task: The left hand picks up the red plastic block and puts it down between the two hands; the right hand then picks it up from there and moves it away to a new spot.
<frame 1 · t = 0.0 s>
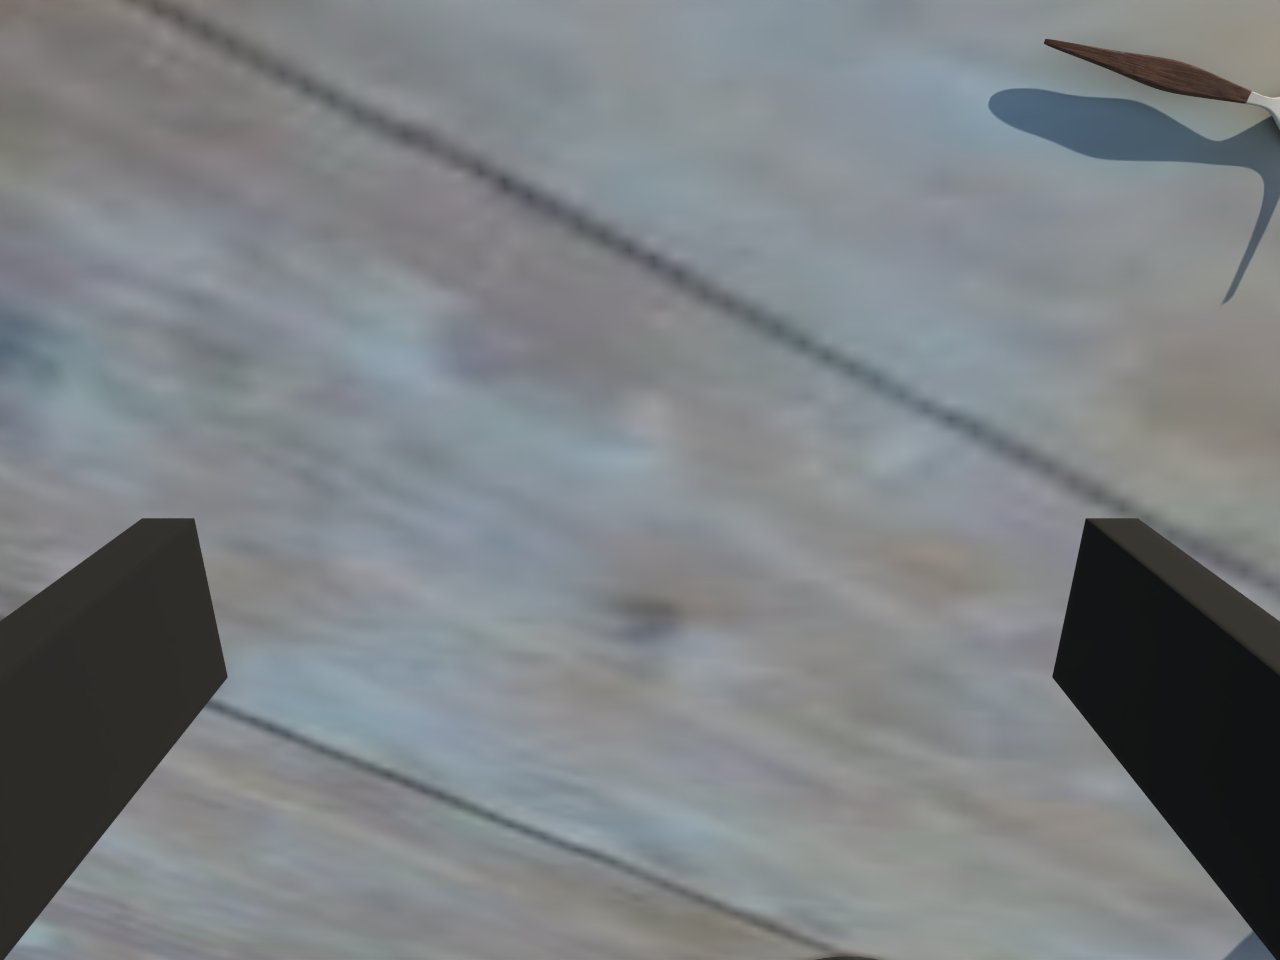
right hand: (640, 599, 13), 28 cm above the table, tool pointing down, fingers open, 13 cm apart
fork: (1211, 91, 35), on the table
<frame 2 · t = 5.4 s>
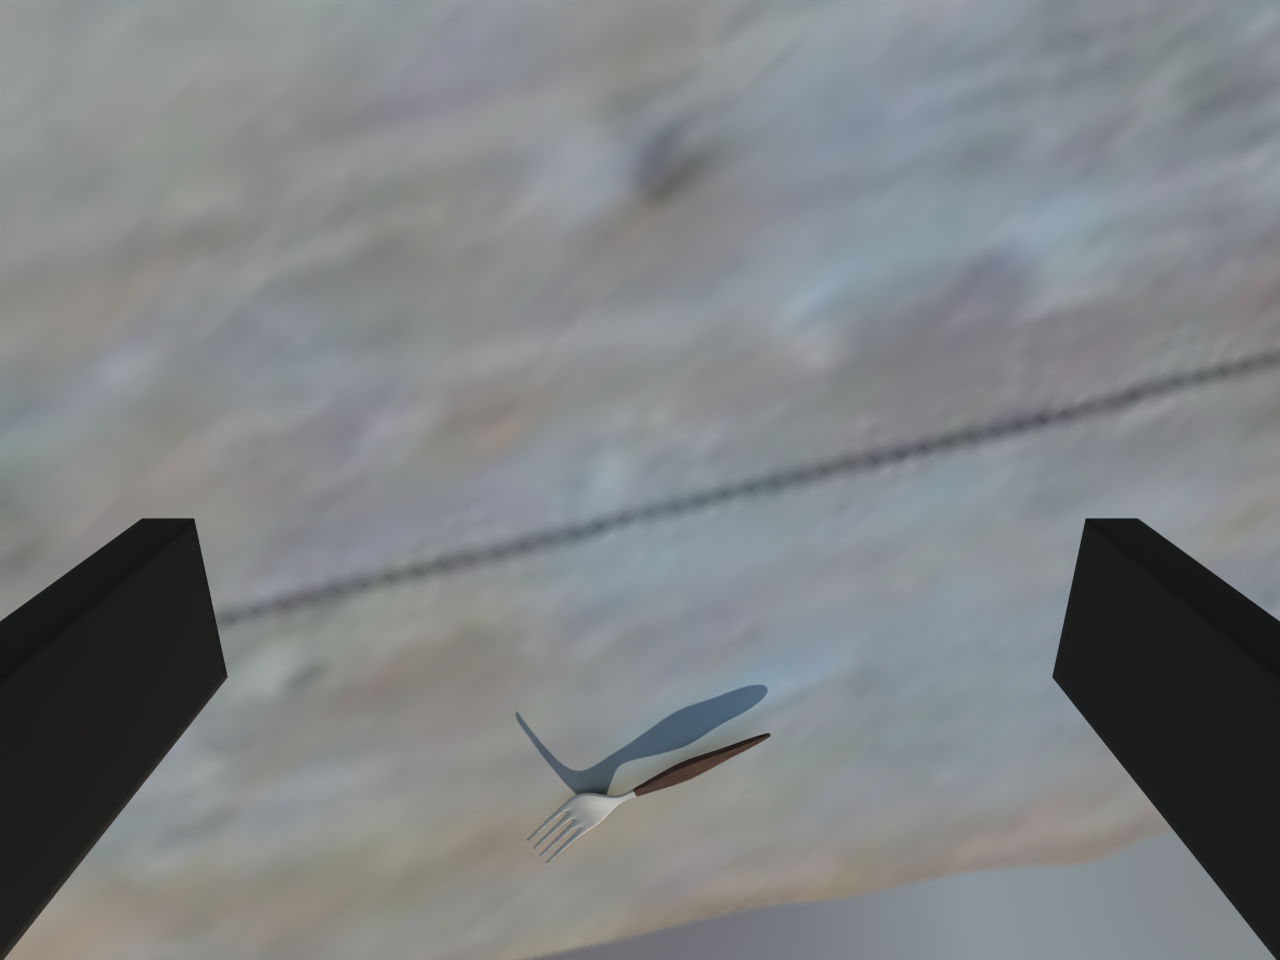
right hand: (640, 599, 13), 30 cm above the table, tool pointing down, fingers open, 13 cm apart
fork: (651, 777, 51), on the table
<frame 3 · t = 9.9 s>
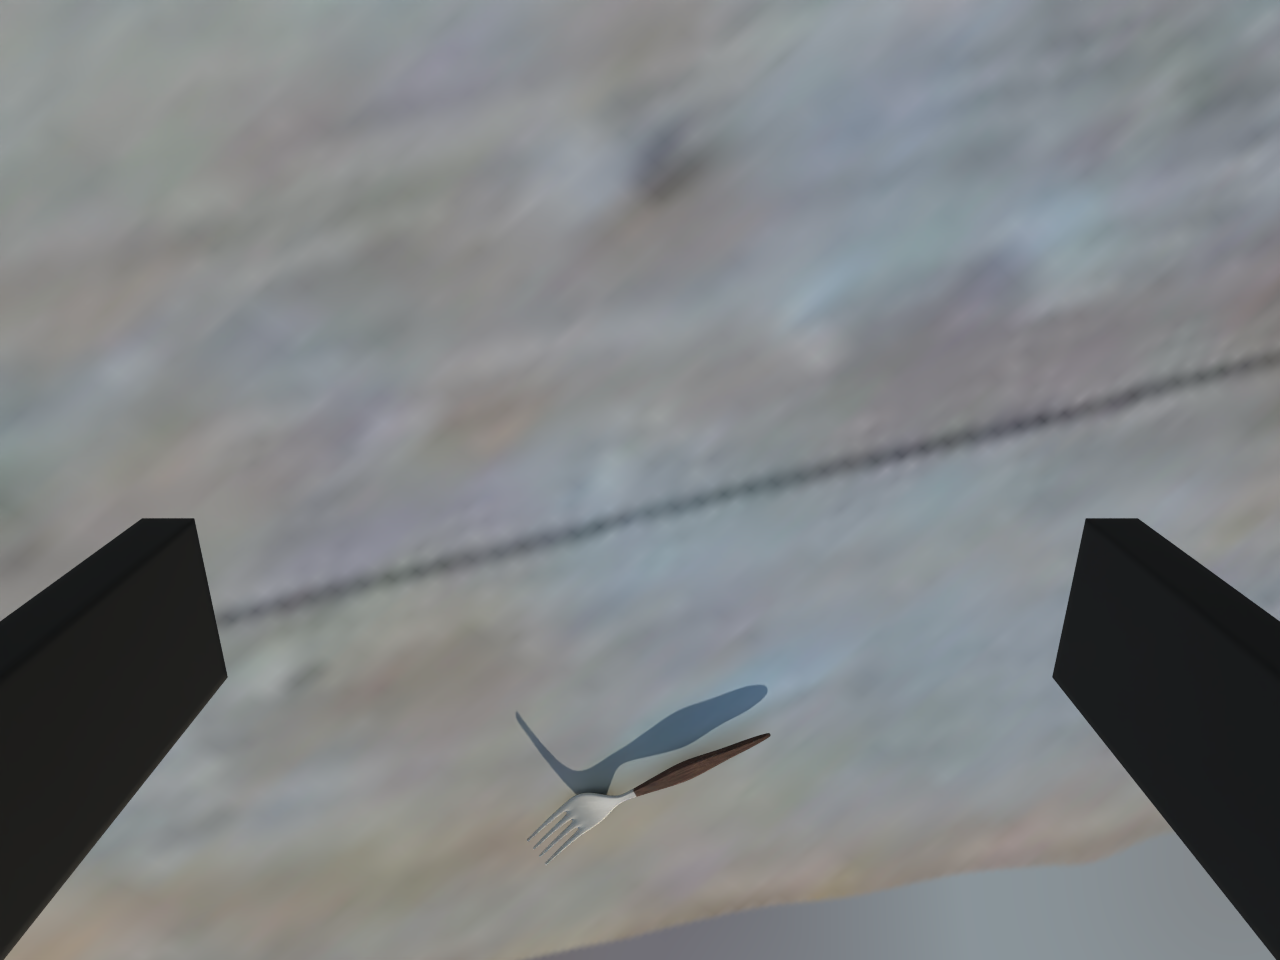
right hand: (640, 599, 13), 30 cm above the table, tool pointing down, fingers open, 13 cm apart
fork: (651, 777, 51), on the table
when the left hand's fingers open (4 cm above the table, at t = 14.3 s): block drops 2 cm, on the table.
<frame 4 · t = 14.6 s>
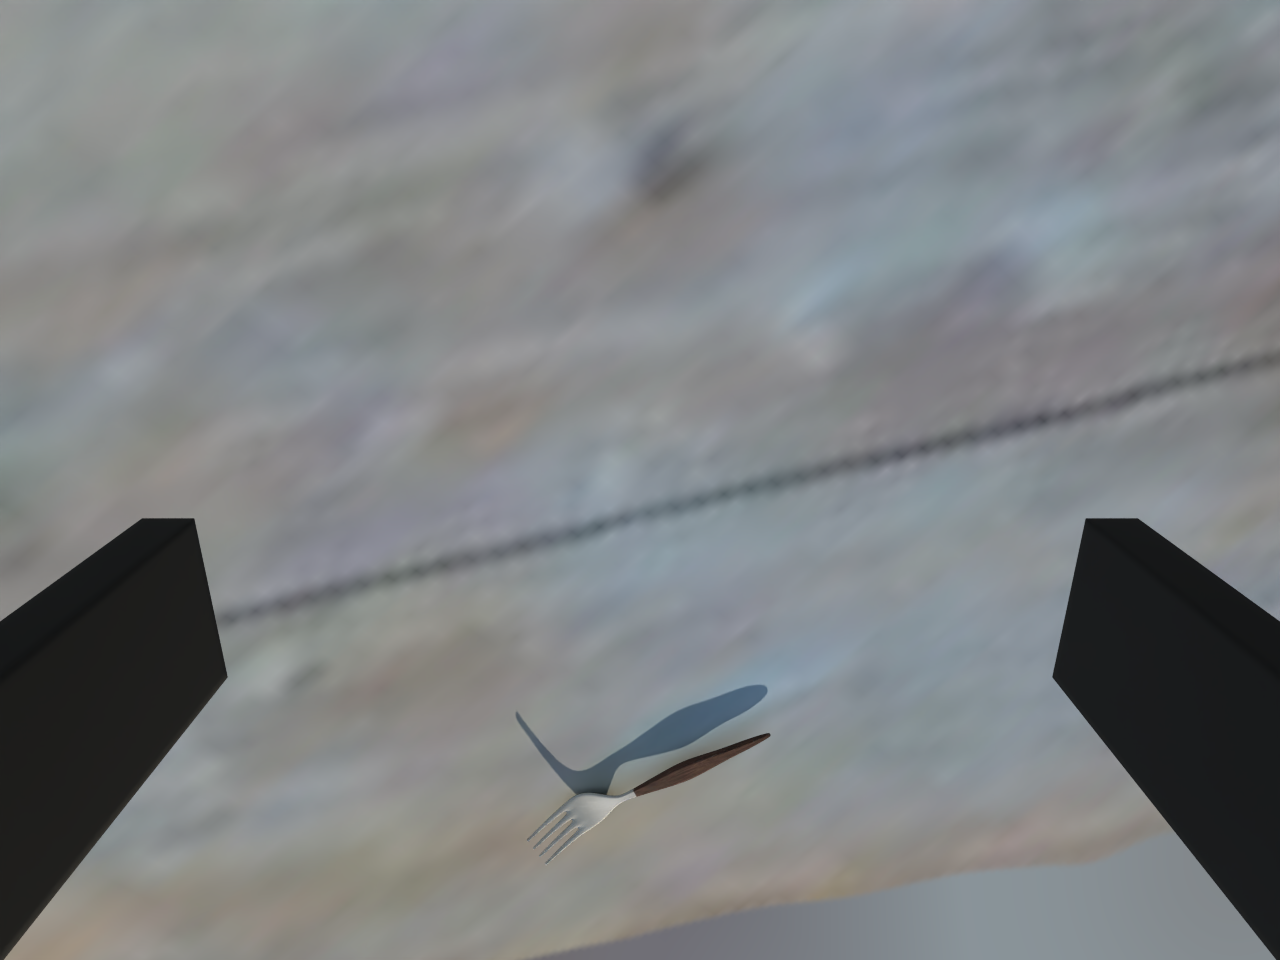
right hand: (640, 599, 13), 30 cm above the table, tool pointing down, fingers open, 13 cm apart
fork: (651, 777, 51), on the table
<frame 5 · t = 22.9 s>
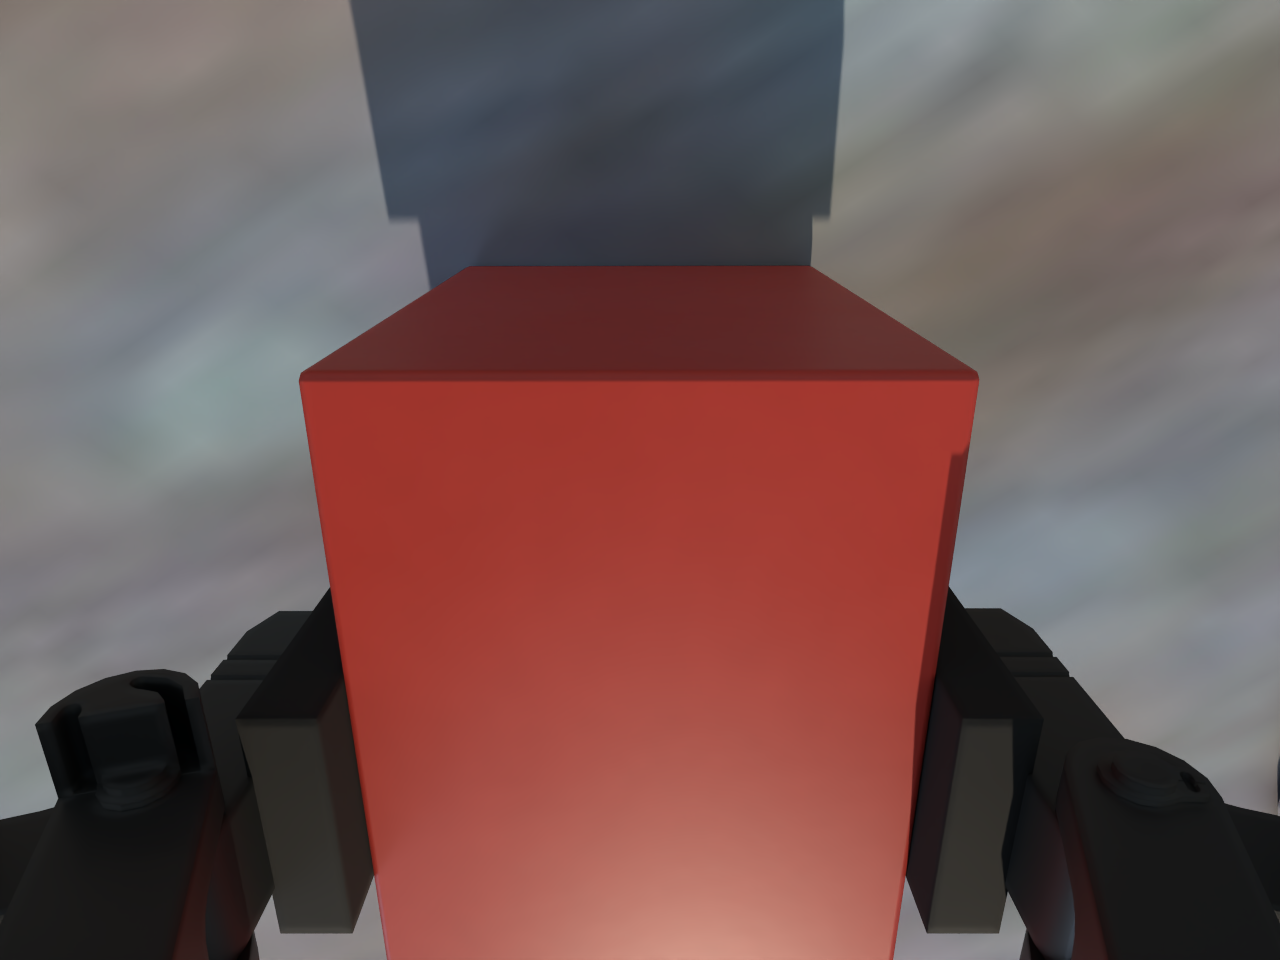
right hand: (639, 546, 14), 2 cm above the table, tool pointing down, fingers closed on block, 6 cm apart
block: (639, 505, 16), on the table, touching right hand
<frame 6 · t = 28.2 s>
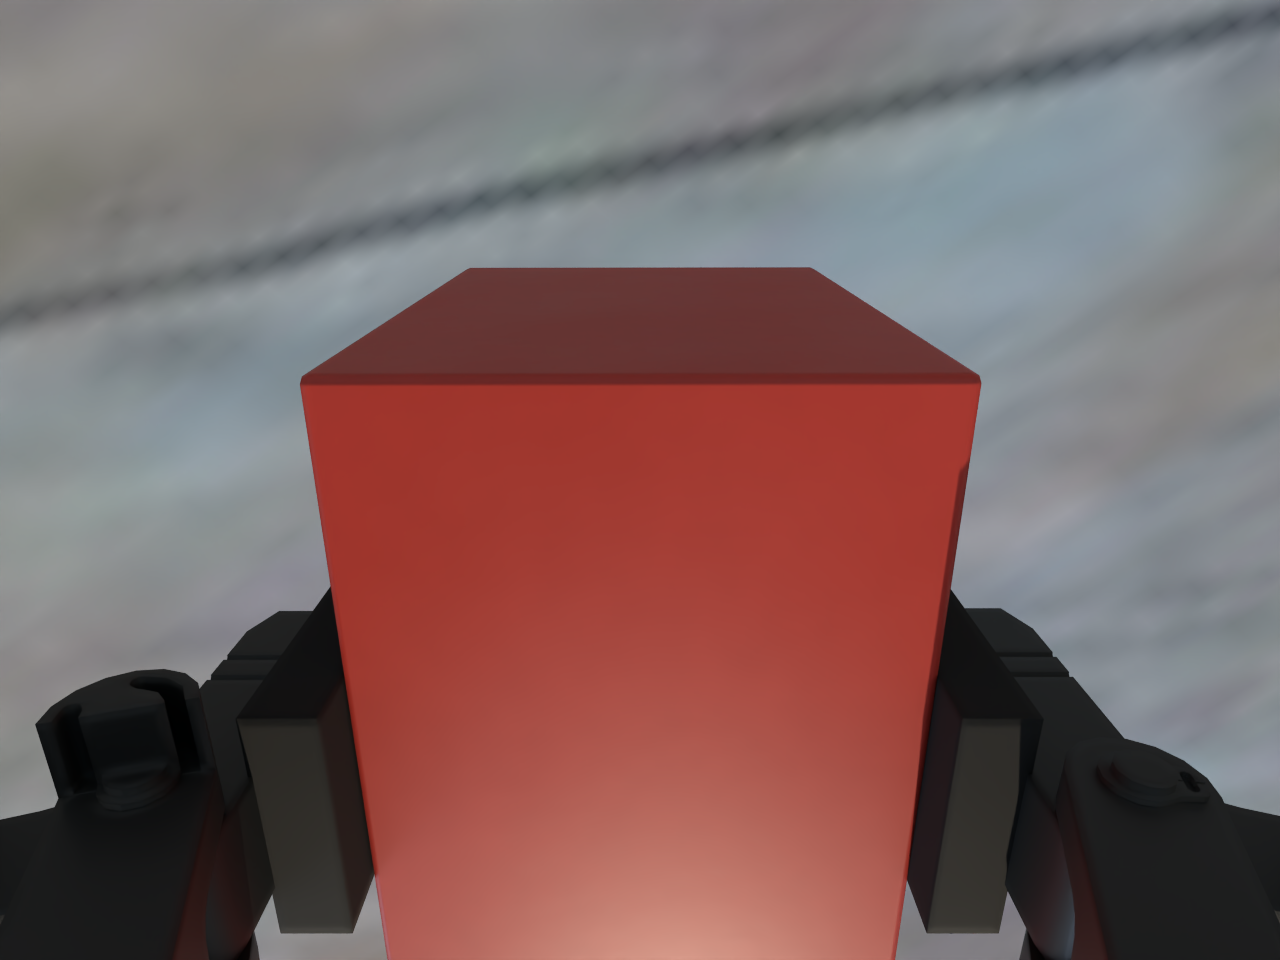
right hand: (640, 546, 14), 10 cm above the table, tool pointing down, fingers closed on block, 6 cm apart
block: (640, 507, 16), point 8 cm above the table, touching right hand
when the right hand's fingers open (4 cm above the table, at t = 33.7 s): block drops 2 cm, on the table.
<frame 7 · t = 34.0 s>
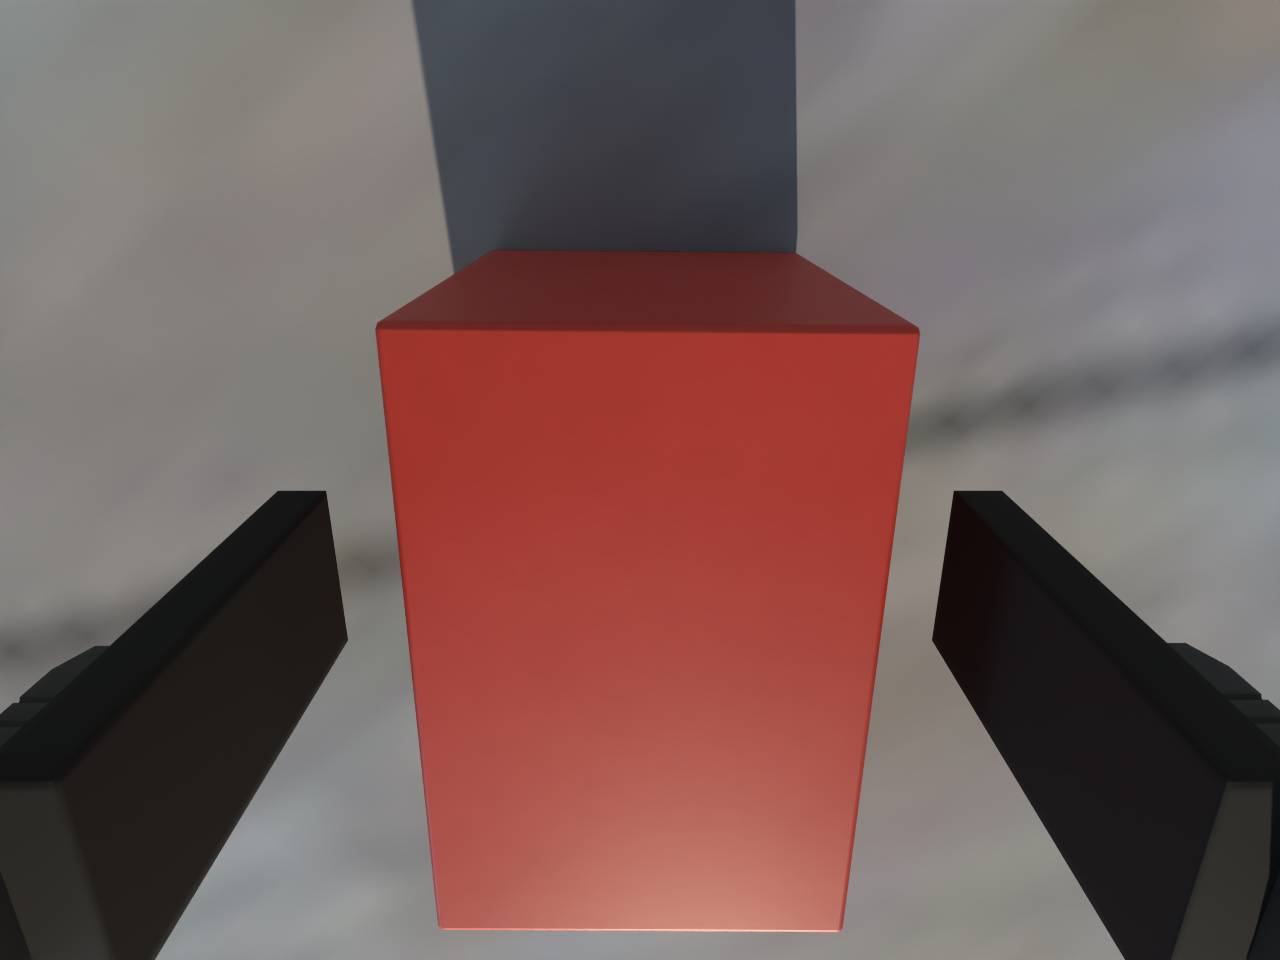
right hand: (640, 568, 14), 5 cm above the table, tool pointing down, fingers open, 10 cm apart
block: (642, 467, 18), on the table
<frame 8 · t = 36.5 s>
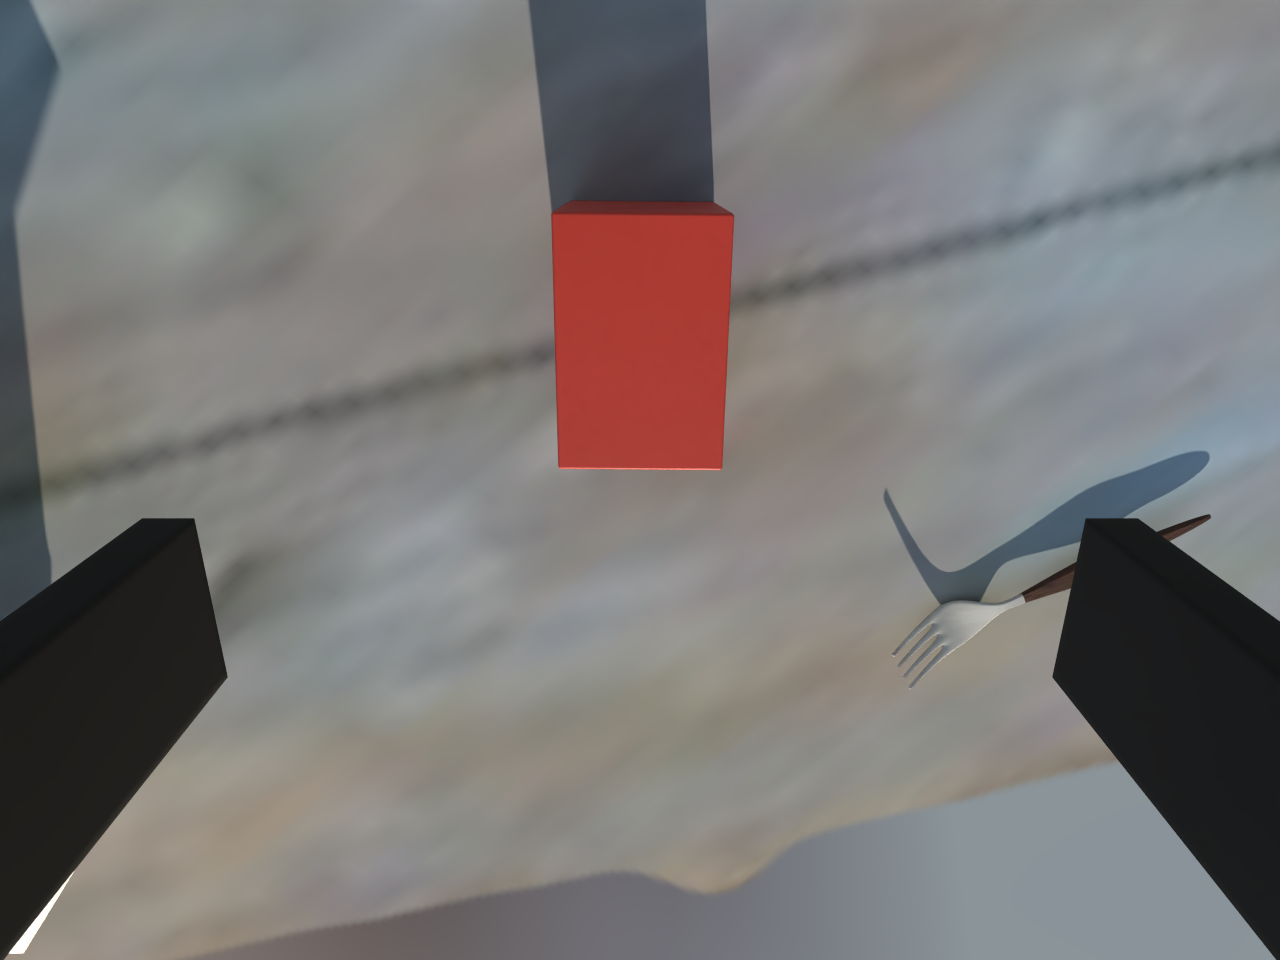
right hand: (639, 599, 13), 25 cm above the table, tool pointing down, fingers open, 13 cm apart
fork: (1039, 581, 41), on the table
block: (641, 310, 36), on the table
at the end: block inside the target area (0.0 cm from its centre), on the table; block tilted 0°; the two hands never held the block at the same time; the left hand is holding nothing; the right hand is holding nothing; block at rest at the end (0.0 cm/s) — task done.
